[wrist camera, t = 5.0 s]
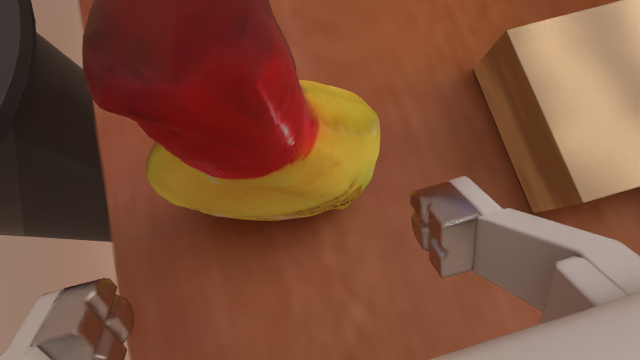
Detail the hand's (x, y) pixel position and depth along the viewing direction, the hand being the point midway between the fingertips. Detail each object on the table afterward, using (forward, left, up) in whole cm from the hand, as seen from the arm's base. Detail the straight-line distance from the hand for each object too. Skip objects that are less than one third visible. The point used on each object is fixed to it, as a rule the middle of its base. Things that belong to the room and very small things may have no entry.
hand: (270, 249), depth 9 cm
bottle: (0, +5, -16) cm, 17 cm away
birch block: (+23, +4, -16) cm, 28 cm away
